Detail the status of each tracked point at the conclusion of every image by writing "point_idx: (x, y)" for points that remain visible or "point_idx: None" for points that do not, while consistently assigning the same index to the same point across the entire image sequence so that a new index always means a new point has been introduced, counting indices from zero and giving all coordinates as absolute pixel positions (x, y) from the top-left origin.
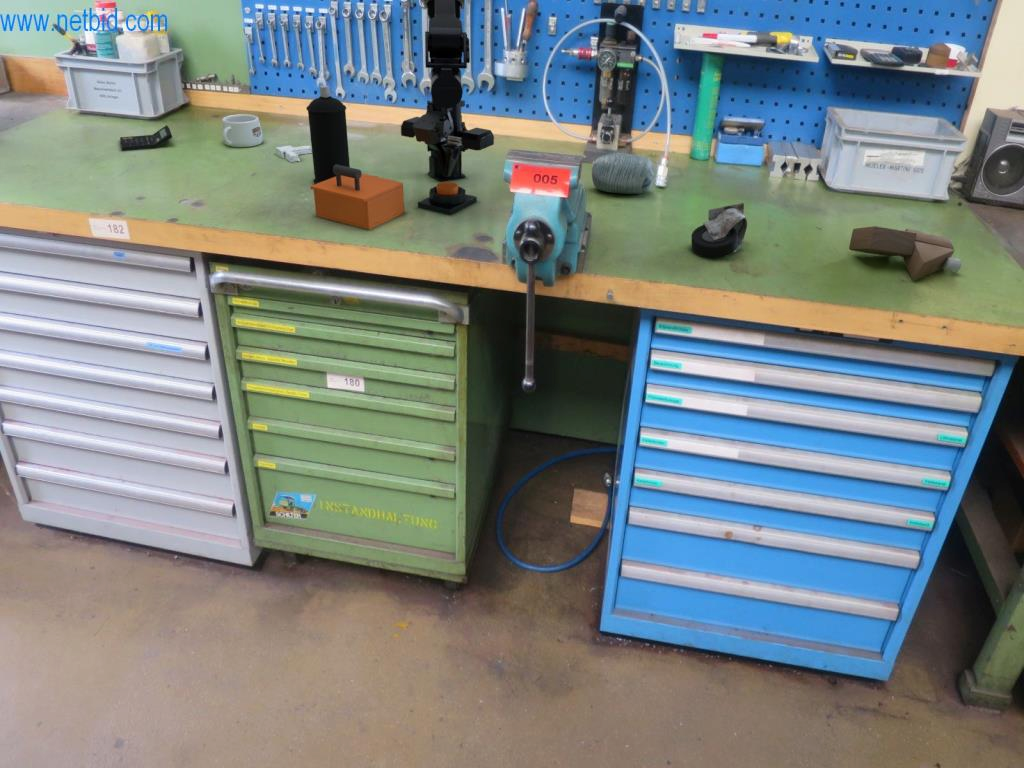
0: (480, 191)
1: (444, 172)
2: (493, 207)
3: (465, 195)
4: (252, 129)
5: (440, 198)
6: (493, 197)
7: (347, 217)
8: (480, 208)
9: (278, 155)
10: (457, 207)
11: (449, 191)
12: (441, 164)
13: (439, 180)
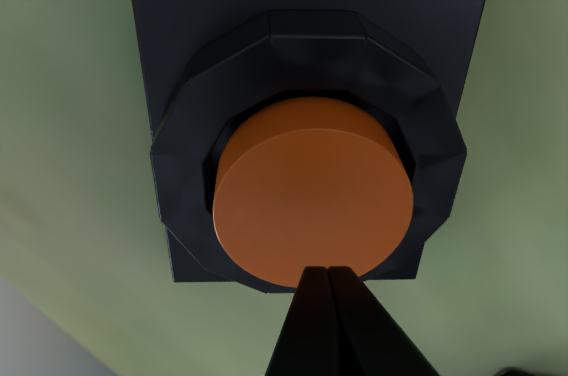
0: None
1: (345, 291)
2: (40, 243)
3: None
4: None
5: (279, 28)
6: (159, 344)
7: None
8: (85, 193)
9: None
10: (140, 58)
11: (242, 143)
12: (400, 363)
13: (520, 373)
